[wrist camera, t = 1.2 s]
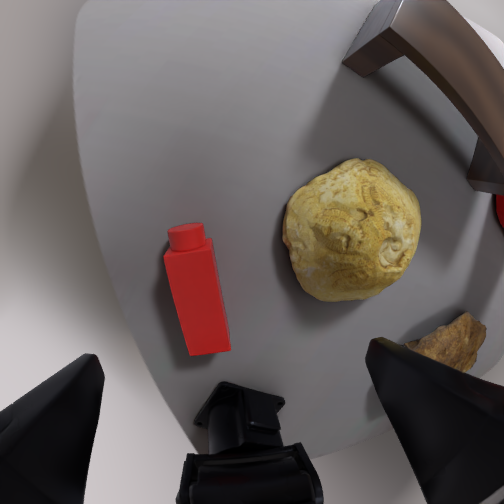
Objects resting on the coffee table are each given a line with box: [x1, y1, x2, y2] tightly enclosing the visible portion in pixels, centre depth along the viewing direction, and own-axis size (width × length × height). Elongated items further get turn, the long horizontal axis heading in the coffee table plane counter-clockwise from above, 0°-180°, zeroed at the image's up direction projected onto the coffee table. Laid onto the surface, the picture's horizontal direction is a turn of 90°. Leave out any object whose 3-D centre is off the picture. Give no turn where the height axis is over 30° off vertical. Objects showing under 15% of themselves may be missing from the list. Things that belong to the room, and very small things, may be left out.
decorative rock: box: [404, 311, 486, 372], centre depth 22 cm, size 11×4×15 cm
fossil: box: [282, 158, 421, 302], centre depth 17 cm, size 11×6×10 cm
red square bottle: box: [163, 223, 231, 356], centre depth 17 cm, size 8×3×3 cm, turn 8°
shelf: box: [342, 0, 504, 196], centre depth 14 cm, size 9×18×7 cm, turn 62°
